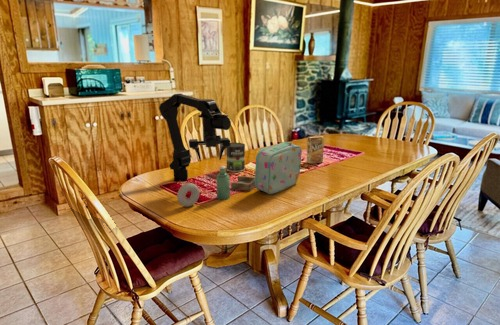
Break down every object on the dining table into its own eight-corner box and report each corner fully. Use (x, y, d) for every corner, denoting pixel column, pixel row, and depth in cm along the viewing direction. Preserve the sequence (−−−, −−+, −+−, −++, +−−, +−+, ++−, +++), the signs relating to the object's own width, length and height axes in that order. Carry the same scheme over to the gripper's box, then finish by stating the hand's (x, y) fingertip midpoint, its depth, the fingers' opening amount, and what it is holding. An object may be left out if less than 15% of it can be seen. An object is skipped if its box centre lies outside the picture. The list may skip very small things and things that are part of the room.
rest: (231, 188, 165) (231, 182, 165) (238, 181, 175) (238, 175, 174) (250, 190, 163) (250, 184, 162) (257, 183, 172) (257, 177, 172)
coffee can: (247, 171, 191) (247, 146, 187) (228, 172, 188) (228, 147, 185) (242, 166, 201) (242, 142, 197) (224, 167, 198) (224, 143, 194)
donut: (197, 201, 150) (196, 179, 147) (201, 204, 148) (200, 181, 145) (176, 208, 144) (174, 185, 141) (180, 210, 141) (179, 187, 139)
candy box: (309, 163, 205) (310, 138, 201) (306, 161, 209) (307, 136, 205) (323, 162, 208) (324, 137, 203) (319, 160, 211) (321, 135, 207)
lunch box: (284, 178, 180) (286, 137, 174) (302, 182, 174) (304, 140, 168) (252, 192, 160) (252, 147, 154) (270, 198, 154) (271, 151, 148)
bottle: (217, 200, 152) (216, 169, 148) (216, 195, 157) (215, 165, 153) (230, 199, 153) (229, 168, 149) (228, 194, 158) (228, 164, 154)
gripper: (189, 132, 150) (191, 166, 155) (232, 130, 154) (232, 164, 159) (188, 127, 161) (189, 160, 165) (228, 125, 165) (228, 157, 169)
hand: (210, 160), depth 164 cm, fingers open, 9 cm apart
